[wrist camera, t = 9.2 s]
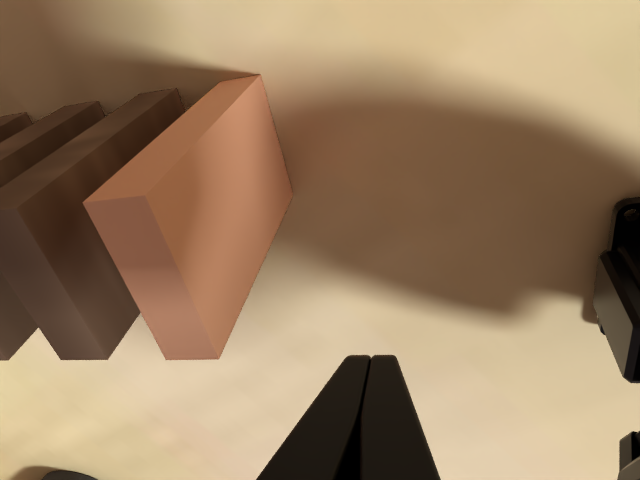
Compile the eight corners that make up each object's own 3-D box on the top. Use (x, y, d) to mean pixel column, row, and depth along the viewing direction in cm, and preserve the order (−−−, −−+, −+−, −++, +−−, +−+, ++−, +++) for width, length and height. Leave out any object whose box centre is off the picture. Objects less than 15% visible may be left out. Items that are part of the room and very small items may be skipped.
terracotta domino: (260, 74, 18) (144, 195, 11) (293, 195, 20) (219, 359, 13) (220, 81, 18) (82, 202, 11) (257, 199, 21) (166, 360, 14)
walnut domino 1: (97, 100, 20) (-99, 220, 12) (145, 209, 22) (8, 360, 15) (64, 106, 20) (-145, 225, 13) (115, 212, 23) (-33, 360, 15)
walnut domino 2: (176, 88, 19) (16, 208, 11) (216, 202, 21) (107, 359, 14) (139, 94, 19) (-39, 214, 12) (183, 205, 22) (60, 359, 14)
